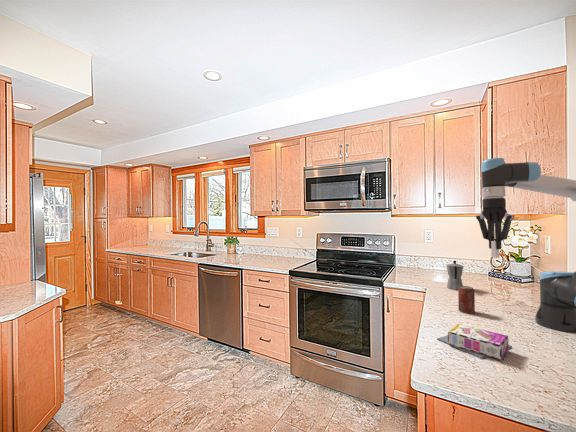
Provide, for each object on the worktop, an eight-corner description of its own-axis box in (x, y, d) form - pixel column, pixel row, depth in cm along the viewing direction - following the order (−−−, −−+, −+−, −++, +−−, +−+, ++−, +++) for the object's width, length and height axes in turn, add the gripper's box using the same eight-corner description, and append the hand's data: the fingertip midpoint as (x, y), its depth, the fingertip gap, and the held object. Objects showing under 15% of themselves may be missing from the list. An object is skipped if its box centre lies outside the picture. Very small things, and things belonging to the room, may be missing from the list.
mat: (466, 331, 120) (466, 329, 120) (511, 347, 105) (511, 345, 105) (437, 339, 112) (437, 338, 112) (481, 358, 97) (481, 357, 97)
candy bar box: (501, 345, 95) (447, 331, 106) (502, 360, 95) (447, 344, 106) (508, 334, 102) (457, 323, 114) (508, 348, 102) (457, 335, 114)
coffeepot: (446, 285, 194) (445, 258, 194) (462, 286, 190) (462, 259, 190) (447, 291, 180) (447, 262, 180) (465, 292, 176) (464, 263, 176)
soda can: (460, 308, 148) (460, 284, 148) (476, 311, 143) (476, 287, 143) (456, 311, 143) (456, 287, 143) (472, 314, 138) (472, 289, 138)
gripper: (471, 199, 119) (473, 256, 119) (507, 196, 107) (509, 260, 107) (481, 199, 122) (483, 254, 122) (517, 196, 111) (519, 258, 111)
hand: (495, 257), depth 115 cm, fingers closed
